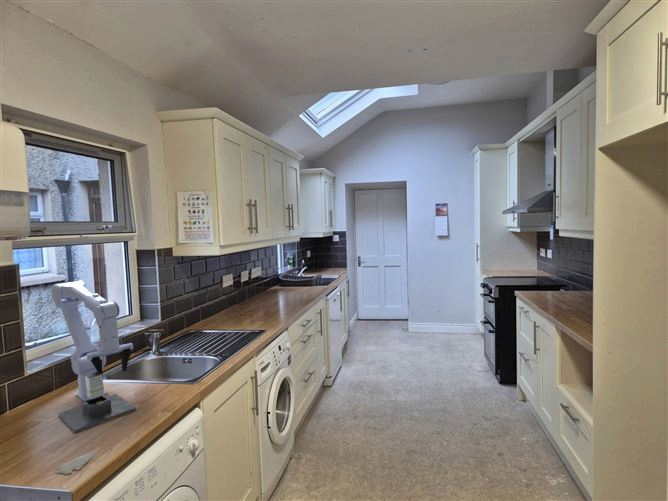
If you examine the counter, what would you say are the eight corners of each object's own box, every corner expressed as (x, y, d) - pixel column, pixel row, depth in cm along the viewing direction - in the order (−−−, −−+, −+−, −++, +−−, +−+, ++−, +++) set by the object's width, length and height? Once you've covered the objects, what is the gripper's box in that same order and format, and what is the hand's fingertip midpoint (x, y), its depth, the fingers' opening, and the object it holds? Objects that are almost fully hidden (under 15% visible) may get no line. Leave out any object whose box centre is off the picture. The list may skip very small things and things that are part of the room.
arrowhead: (50, 466, 101) (84, 448, 110) (50, 473, 101) (83, 455, 110) (71, 470, 99) (104, 451, 109) (71, 477, 99) (103, 458, 109)
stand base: (58, 416, 132) (57, 402, 132) (116, 396, 146) (115, 383, 145) (74, 433, 120) (73, 417, 120) (136, 410, 134) (134, 396, 133)
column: (86, 396, 132) (84, 375, 132) (100, 391, 135) (98, 371, 135) (91, 399, 130) (88, 377, 129) (104, 395, 133) (102, 373, 132)
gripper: (89, 343, 131) (93, 383, 132) (135, 333, 142) (138, 369, 143) (83, 340, 136) (87, 378, 137) (127, 330, 146) (131, 366, 147)
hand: (112, 374), depth 140 cm, fingers open, 7 cm apart
